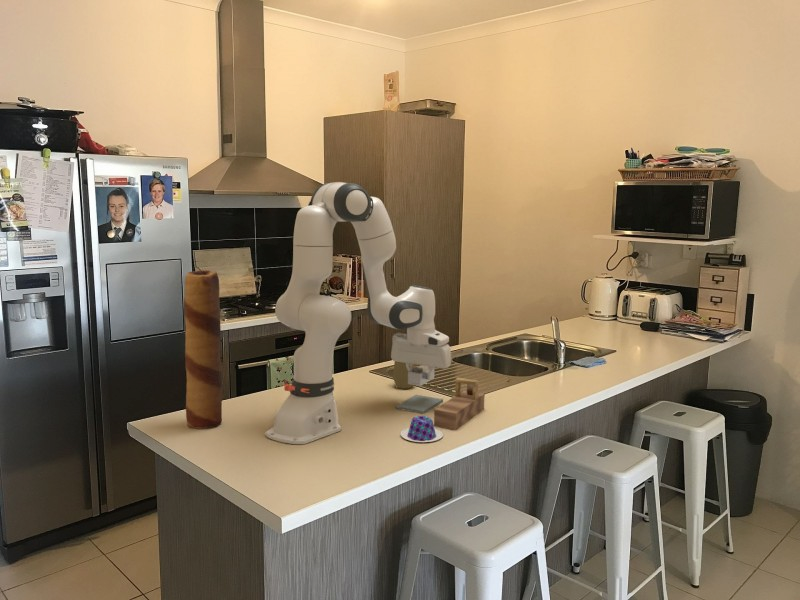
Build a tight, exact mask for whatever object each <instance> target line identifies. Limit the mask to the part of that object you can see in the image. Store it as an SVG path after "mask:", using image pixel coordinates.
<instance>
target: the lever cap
mask: <svg viewBox="0 0 800 600" xmlns="http://www.w3.org/2000/svg"><path fill="white" fill-rule="evenodd" d="M429 371H430V370H429V369H428V366H423V365H418V366H417V367H416V366H415V368H413V369H412V370H411V371H409V372H408V384H412V385H413V386H418V387H421V386H423V385H425V384H427V383H428V382H430V381H432V380H433V379H435V370H434V371H433V373H432V377H431V379H430V380H427V379H425V374H427V373H428V372H429Z"/></svg>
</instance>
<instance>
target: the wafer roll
mask: <svg viewBox="0 0 800 600" xmlns="http://www.w3.org/2000/svg"><path fill="white" fill-rule="evenodd" d="M220 302H221V301H220V279H219V275H218V272H217V271H212V270H208V269H204V270H203V269H202V270H196V271H195V270H194V271H193V270H192V271H189V272H187V273H186V275H185V277H184V299H183V305H184V319H185V320H184V321H185V332H184V333H185V344H184V346H185V350H184V357H185V371H186V392H185V394H186V395H185V398H186V399H185V417H186V425H187V426H188V427H189V428H195V429H202V428H203V429H206V428H214V427H217V426H219V425H221V424H222V422H223V418H222V415H223V414H222V412H223V410H222V406H223V405H222V404H223V374H222V362H221V342H222V340H221V337H222V330H221V307H220V304H221V303H220Z"/></svg>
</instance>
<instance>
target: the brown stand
mask: <svg viewBox="0 0 800 600" xmlns="http://www.w3.org/2000/svg"><path fill="white" fill-rule="evenodd" d="M461 384H466V390H463V391H461V386H462V385H461ZM478 388H479V380H478V379H477V380H476V379H472V378H471V379H470V378H465V377H464V378H463V377H459V376H458V377H457V378H455V393H454V396H453V397H452V398H450V399H448V400H447V401H445V402H444V403H441V404H439V405H438V407H436V408H434V409H433V410H434V411H433V414H434V416H433V425H434V427H439V428H444V429H450V430H454V431H457V430H458V429H459V428H461V427H462V426H464V424H466V423H467V422H469V420H471V419H473V418H474V417H475V416H476V415H478V414H479V413H481V412H482V411H483V410H485V397H486V396H485V393H482V392H481V393H480V392H478V390H479V389H478Z"/></svg>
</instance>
